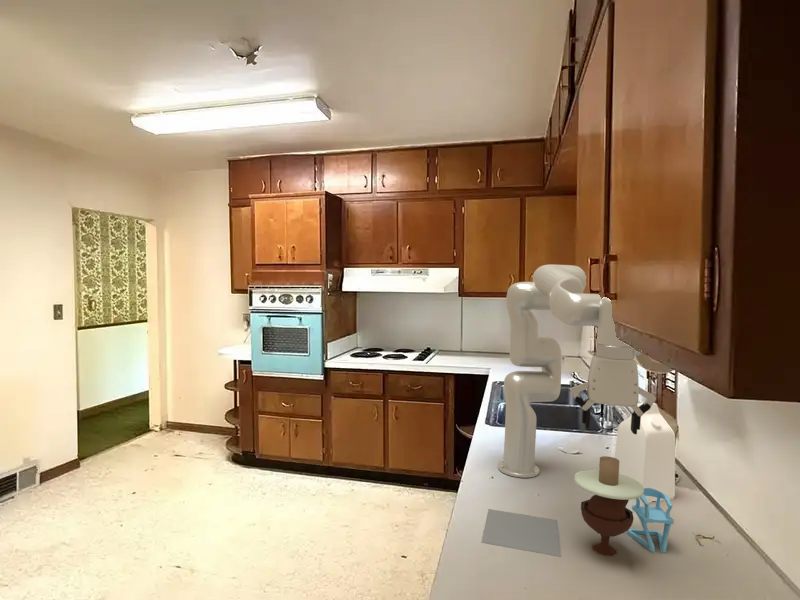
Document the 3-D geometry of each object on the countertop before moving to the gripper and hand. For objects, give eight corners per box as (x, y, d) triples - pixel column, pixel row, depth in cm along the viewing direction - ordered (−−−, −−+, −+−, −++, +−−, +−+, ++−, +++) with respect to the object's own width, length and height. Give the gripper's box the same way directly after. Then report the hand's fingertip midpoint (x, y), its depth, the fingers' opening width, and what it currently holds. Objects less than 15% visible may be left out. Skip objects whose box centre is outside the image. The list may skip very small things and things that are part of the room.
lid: (572, 469, 115) (573, 445, 115) (636, 478, 112) (637, 453, 111) (577, 493, 102) (578, 466, 102) (650, 504, 98) (651, 476, 98)
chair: (641, 551, 108) (644, 499, 108) (626, 532, 116) (629, 483, 116) (676, 554, 108) (680, 501, 107) (658, 534, 116) (662, 485, 116)
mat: (488, 511, 125) (488, 508, 125) (557, 522, 120) (557, 520, 120) (481, 544, 108) (481, 542, 108) (560, 559, 104) (561, 556, 104)
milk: (642, 482, 147) (647, 398, 146) (674, 499, 136) (680, 407, 136) (610, 486, 143) (615, 399, 143) (641, 503, 133) (646, 410, 132)
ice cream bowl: (586, 533, 115) (590, 471, 115) (637, 551, 108) (641, 485, 107) (570, 551, 107) (574, 485, 106) (624, 572, 100) (628, 501, 99)
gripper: (654, 353, 107) (649, 429, 108) (571, 347, 112) (567, 420, 113) (662, 358, 100) (657, 440, 101) (574, 352, 105) (569, 429, 106)
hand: (609, 429), depth 107 cm, fingers open, 9 cm apart
